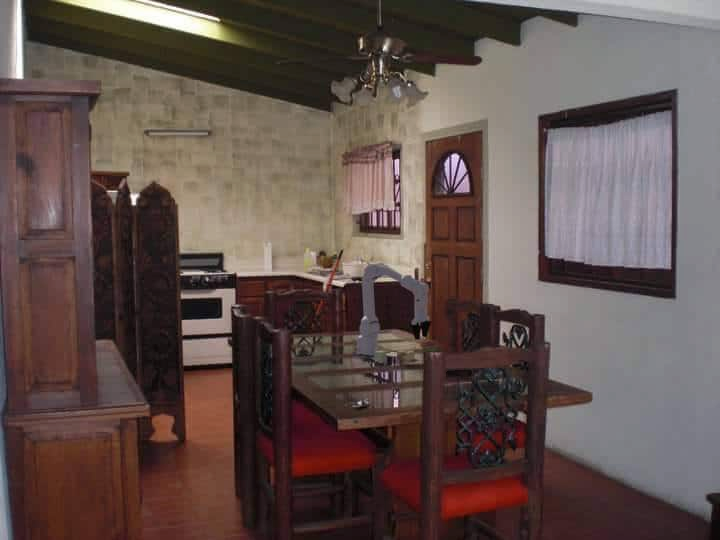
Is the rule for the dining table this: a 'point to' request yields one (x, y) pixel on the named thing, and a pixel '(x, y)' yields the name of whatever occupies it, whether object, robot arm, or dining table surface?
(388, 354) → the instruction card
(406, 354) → the beech base brick
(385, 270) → the robot arm
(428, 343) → the cupcake
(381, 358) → the sage brick
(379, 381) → the dining table surface
